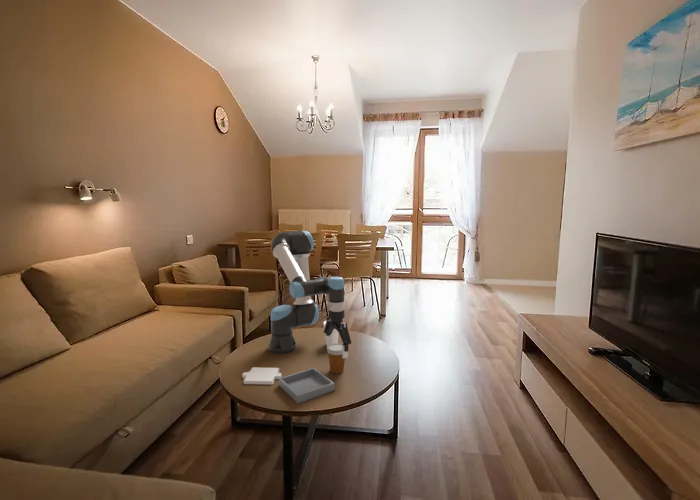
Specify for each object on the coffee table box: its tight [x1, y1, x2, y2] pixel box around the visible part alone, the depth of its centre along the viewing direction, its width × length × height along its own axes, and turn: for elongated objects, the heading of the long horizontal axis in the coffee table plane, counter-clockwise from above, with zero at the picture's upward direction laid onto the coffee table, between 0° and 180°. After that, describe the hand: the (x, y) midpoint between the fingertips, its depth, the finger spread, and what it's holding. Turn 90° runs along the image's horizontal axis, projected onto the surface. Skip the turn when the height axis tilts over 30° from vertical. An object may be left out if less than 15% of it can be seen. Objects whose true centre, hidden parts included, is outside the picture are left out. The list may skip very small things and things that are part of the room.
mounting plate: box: [241, 366, 282, 385], centre depth 169 cm, size 18×13×2 cm
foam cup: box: [322, 320, 340, 346], centre depth 206 cm, size 10×9×13 cm
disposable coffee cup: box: [326, 343, 346, 374], centre depth 175 cm, size 10×10×12 cm
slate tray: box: [278, 367, 336, 405], centre depth 159 cm, size 18×18×4 cm
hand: (337, 352), depth 174 cm, fingers open, 13 cm apart
